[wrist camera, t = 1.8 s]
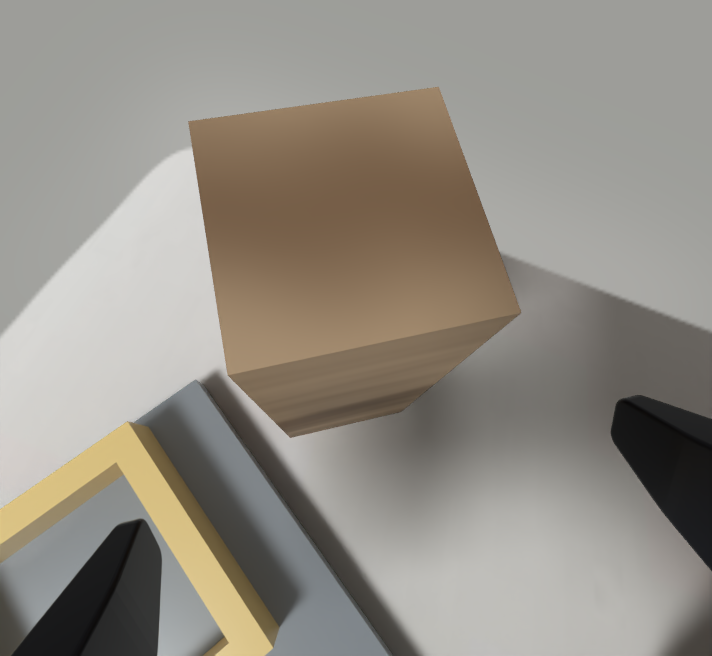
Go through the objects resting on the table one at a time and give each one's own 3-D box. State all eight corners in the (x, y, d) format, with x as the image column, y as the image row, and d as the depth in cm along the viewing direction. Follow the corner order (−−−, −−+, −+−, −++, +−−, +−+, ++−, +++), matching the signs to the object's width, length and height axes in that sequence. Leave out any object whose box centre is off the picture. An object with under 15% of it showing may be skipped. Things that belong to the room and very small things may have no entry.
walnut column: (400, 411, 20) (521, 312, 8) (290, 437, 19) (227, 375, 7) (373, 309, 21) (438, 87, 9) (269, 330, 21) (188, 121, 8)
